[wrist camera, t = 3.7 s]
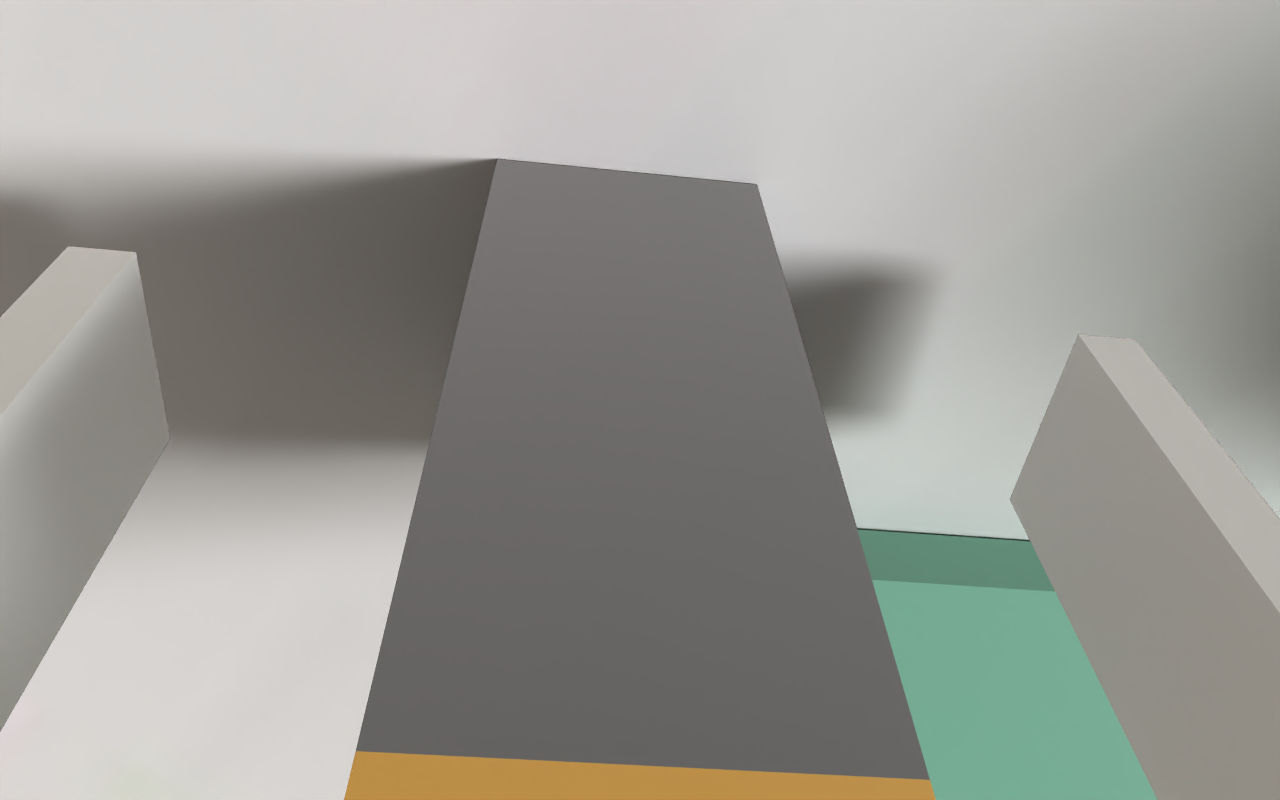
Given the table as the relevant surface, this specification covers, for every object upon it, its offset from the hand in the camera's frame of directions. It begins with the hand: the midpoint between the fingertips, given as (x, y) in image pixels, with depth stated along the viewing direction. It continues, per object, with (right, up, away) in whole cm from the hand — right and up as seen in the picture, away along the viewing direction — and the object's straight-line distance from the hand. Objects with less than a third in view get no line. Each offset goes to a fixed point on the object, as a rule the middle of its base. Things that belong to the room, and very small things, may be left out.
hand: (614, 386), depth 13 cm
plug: (0, +1, +2) cm, 2 cm away
